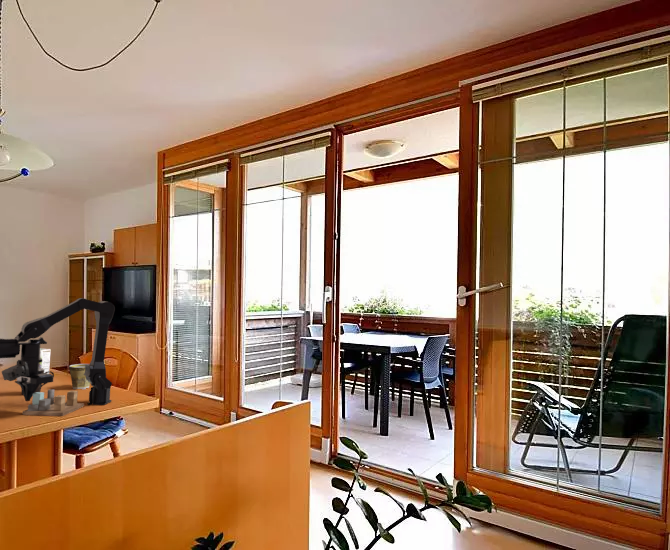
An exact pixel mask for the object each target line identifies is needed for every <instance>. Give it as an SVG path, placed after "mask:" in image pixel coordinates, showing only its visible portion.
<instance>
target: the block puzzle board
mask: <svg viewBox="0 0 670 550" xmlns="http://www.w3.org/2000/svg"><path fill="white" fill-rule="evenodd" d="M78 392H79V390H69V391H67V392H66V395H64V394H63V395H60V394H59V395H55V389H53V388H51V389H50V388H49V389H47V395H46V396H47V397H46V398H45V397H44V399H42V400H39V405H32V403H30V404H27V409H26V410H23V411H22V415H23V416H51V417H64V416H66V415H69V414H70V413H73V412H75V411H77V410H80V409H82V408H84V407H85V403H83V402H78ZM83 406H84V407H83ZM81 407H82V408H81ZM79 408H80V409H79Z"/></svg>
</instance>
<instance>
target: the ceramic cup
mask: <svg viewBox="0 0 670 550" xmlns="http://www.w3.org/2000/svg"><path fill="white" fill-rule="evenodd" d="M86 364H87V365H89V364H90V363H78V364H71V365H69V366H68V367H69V368H68V369H69V375H70V379H71V386H72V387H71V388H72V389H73V390H76V389H82V390H87V389H86V388H88V389H89V388H90V385H91V384H90V382H88V381H87V380H86V376H85V375H84V373H85V365H86Z"/></svg>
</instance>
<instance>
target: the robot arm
mask: <svg viewBox="0 0 670 550" xmlns="http://www.w3.org/2000/svg"><path fill="white" fill-rule="evenodd" d="M115 306H116V305H114V303H112V302H110V301H107V300H106V301H105V300H103V301H101V300H100V301H95V300H89V299H87V298H83V297H80V298H77V299H75V300H74V301H72V302H70V303H69V304H66V305H65V306H63V307H60V308H59V309H57V310H55V311H53V312H51V313H49V314H48V315H45V316H43V317H42V316H41V317H39V318H36V319H32V320H29V321H27V322H25V323H23V325H22V326H21V331H20V332H19V333H18V334H17V335H15V337H14V338H0V359H11V358H13V359H14V358H16V356H19V355H20V359H17V360H16V364H15V365H12V366H10V367H7V368H5V369H4V370H2V371H1V375H2V378H3V380H4V381H8V382H12V381H13V382H14V383H15V384H17V385H19V386H20V388H21V389H22V390H21V393H22V392H23V395H22V396H23V398H24V401H25V402H29V401H31V400H32V398H33V393H34V392H35V391H36V389H37V388H38V386H39V385H40V384H44V383H47V384H49V383H54V377H55V375H54V376H53V375H52V373H49V374H47V373H43V374H41V371H39V363H40V362H42V359H40V348H41V345H47V344H48V341H46V340H44V337H42V335H43V334H45V333H46V332H47V331H48V330H49V329H51V327H53V326H54V325H56V324H57V323H60V322H61V321H64V320H65V319H67V318H69V317H71V316H72V315H75V314H77V313H79V312H81V311H82V310H88V311H92V312H94V318H95V324H96V326H95V333H94V340H93V341H94V342H93V348H92V355H91V360H90V363H85V364H86V365H85V373H84V375H85V376H86V380H87V381H88V382H90V385H91V387H90V390H89V392H88V393H89V395H88V402H87V405H92V404H93V405H96V406H98V405H99V406H102V405H103V406H104V405H107V404H110V403H111V402H112V401H113V400H112V399H111V387H112V385H113V382H112V381H110V380H109V378H108V377H107V369H106V363H105V357H106V348H107V341H108V335H109V334H108V333H109V326H110V324H111V322H112V319H113V318H114V314H115V311H116V307H115ZM37 338H38V339H37ZM87 364H89V365H87Z"/></svg>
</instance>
